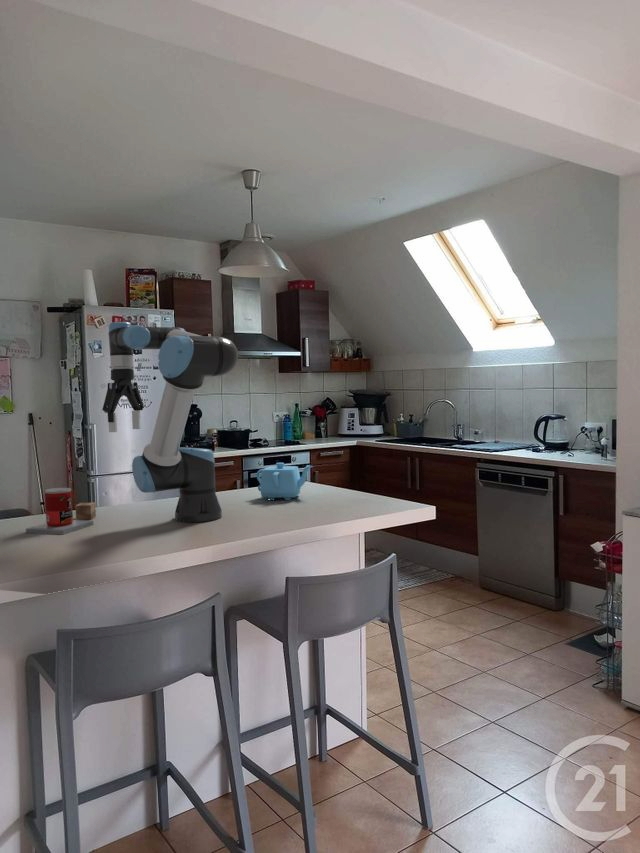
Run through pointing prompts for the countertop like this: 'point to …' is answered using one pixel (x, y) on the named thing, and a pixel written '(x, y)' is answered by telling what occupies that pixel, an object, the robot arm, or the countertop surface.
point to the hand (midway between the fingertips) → (125, 430)
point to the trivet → (61, 529)
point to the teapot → (281, 481)
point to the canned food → (58, 507)
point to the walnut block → (85, 511)
